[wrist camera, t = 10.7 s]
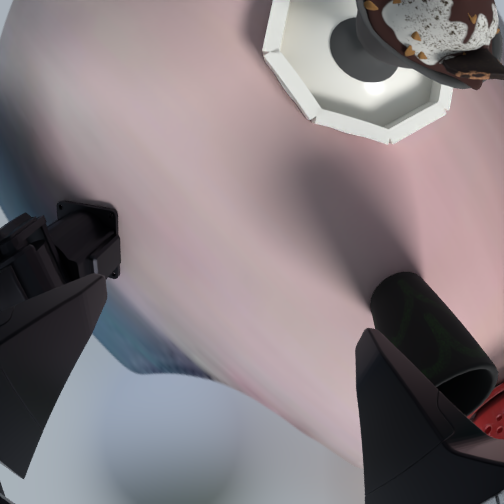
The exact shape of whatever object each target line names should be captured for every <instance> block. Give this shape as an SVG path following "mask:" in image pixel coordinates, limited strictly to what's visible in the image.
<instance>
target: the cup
mask: <svg viewBox="0 0 504 504" xmlns="http://www.w3.org/2000/svg"><path fill="white" fill-rule="evenodd" d="M370 307H371V312H372V316H373V321H374V325H375V329H377V330H379V331H380V332H381V333H382V334H383V335H384V336H385V337H386V338H387V339H388V340H389V341H390V342H391V343H392V344H393V345H394V346H395V347H396V348H397V349H398V350H399V351H400V352H401V353H402V354H403V355H404V356H405V357H406V358H407V359H408V360H409V361H410V362H411V363H412V364H413V365H414V366H415V367H416V368H417V369H418V370H419V371H420V372H421V373H422V374H423V375H424V376H425V377H426V378H427V379H428V380H429V381H430V382H431V383H432V384H433V385H434V386H435V387H436V388H437V389H438V391H440V392H441V393H442V394H443V395H444V396H445V397H446V398H447V399H448V400H449V401H450V402H451V403H452V404H453V405H454V406H455V407H456V408H457V409H458V410H460V411H461V412H462V413H463V414H464V415H465V416H466V417H467V416H469V415H470V414H472V413H473V412H474V411H475V410H476V409H477V408H478V407H480V406H481V405H482V404H483V403H484V401H485V400H486V399H487V398H488V397H489V395H490V394H491V392H492V391H493V389H494V387H495V385H496V382H497V380H498V371H497V368H496V367H495V365H494V364H493V362H492V361H491V360H490V358H489V357H488V356H487V354H486V353H485V352H484V351H483V349H482V348H481V347H480V345H479V344H478V343H477V342H476V340H475V339H474V338H473V337H472V335H471V334H470V333H469V332H468V330H467V329H466V328H465V327H464V326H463V324H462V323H461V322H460V321H459V320H458V318H457V317H456V316H455V315H454V314H453V312H452V311H451V310H450V309H449V308H448V307H447V306H446V304H445V303H444V302H443V301H442V300H441V299H440V298H439V297H438V295H437V294H436V293H435V292H434V291H433V290H432V289H431V288H430V287H429V286H428V284H427V283H426V282H425V281H424V280H423V279H422V278H421V277H420V276H418V275H417V274H415V273H411V272H401V273H396V274H394V275H392V276H390V277H388V278H387V279H385V280H384V281H382V283H381V284H380V285H379V286H378V287H377V288H376V290H375V291H374V293H373V295H372V298H371V303H370Z"/></svg>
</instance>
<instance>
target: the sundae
mask: <svg viewBox="0 0 504 504" xmlns="http://www.w3.org/2000/svg"><path fill="white" fill-rule="evenodd" d="M356 5H357V9H358V10H357V16H356V17H353V18H349V19H346V20H344V21H342V22H340V23H339V24H338V25H337V26H336V27H335V28H334V30H333V31H332V34H331V38H330V49H331V53H332V56H333V58H334V60H335V62H336V63H337V65H338V66H339V67H340V68H341V69H342V70H343V71H344V72H345V73H346V74H348V75H349V76H350V77H352V78H354V79H357V80H359V81H362V82H367V83H378V82H381V81H384V80H386V79H388V78H390V77H391V76H392V75H393V74H394V73H395V71H396V70H397V68H398V67H401V68H408V69H414V70H416V71H417V72H419V73H421V74H423V75H424V76H426V77H428V78H430V79H432V80H434V81H436V82H438V83H440V84H442V85H446V86H449V87H453V88H459V89H466V88H472V89H475V90H478V89H480V87H481V85H482V82H484V81H486V80H487V79H500V80H504V66H503V65H502V64H501V63H500V60H501V56H502V36H501V32H500V28H499V25H498V14H497V9H496V5H495V2H494V0H356Z"/></svg>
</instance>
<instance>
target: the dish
mask: <svg viewBox="0 0 504 504" xmlns="http://www.w3.org/2000/svg"><path fill="white" fill-rule="evenodd" d="M357 10H358V9H357V5H356V0H273V2H272V7H271V11H270V16H269V21H268V25H267V30H266V35H265V39H264V44H263V49H262V52H263V56H264V60H265V62H266V64H267V65H268V66H269V67H270V69H271V70H272V71H273V73H274V74H275V75H276V77H277V79H278V80H279V82H280V84H281V85H282V87H283V88H284V90H285V91H286V92H287V94H288V95H289V96H290V97H291V99H292V100H293V101H294V102H295V103H296V104H297V106H298V107H299V109H300V110H301V112H302V113H303V115H304V116H305V118H306V119H308V120H311V119H312V121H311V123H315V124H319V125H323V126H327V127H331V128H333V129H336V130H339V131H342V132H344V133H347V134H352V135H356V136H362V137H366V138H369V139H372V140H375V141H378V142H381V143H384V144H387V145H388V143H391V144H395V143H396V142H398V141H400V140H402V139H403V138H405V137H407V136H409V135H410V134H412V133H414V132H416V131H417V130H419V129H421V128H423V127H425V126H426V125H428V124H430V123H432V122H433V121H435V120H437V119H439V118H441V117H442V116H444V115H446V112H445V110H449V108H450V103H451V97H452V91H453V87H449V86H446V85H442V84H440V83H438V82H436V81H434V80H432V79H430V78H428V77H426V76H424V75H423V74H421V73H419V72H417V71H416V70H414V69H408V68H401V67H398V68H397V70H396V71H395V73H394V74H393V75H392V76H391V77H390V78H388V79H386V80H384V81H381V82H378V83H367V82H362V81H359V80H357V79H354V78H352V77H350V76H349V75H348V74H346V73H345V72H344V71H343V70H342V69H341V68H340V67H339V66H338V65H337V63H336V62H335V60H334V58H333V56H332V53H331V49H330V38H331V34H332V31H333V30H334V28H335V27H336V26H337V25H338V24H339V23H340V22H342V21H344V20H346V19H349V18H353V17H356V16H357Z"/></svg>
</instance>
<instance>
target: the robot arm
mask: <svg viewBox="0 0 504 504" xmlns="http://www.w3.org/2000/svg"><path fill="white" fill-rule="evenodd" d="M61 205H62V207H63V208H62V207H61ZM110 213H111V214H112V215H113V217H111V215H110ZM57 216H58V220H56V221H55V222H53V223H52V224H50V225H49V226H46V219H45V217H44V215H43V216H40V217H38V218H36V217H31V216H29V215H28V214H27V213H24V214H22V215H20V216H18V217H16V218H15V219H13V220H12V221H10V222H8V223H7V224H5V225H4V226H3V227H1V228H0V463H1V464H2V465H4V466H5V467H7V468H8V469H9V470H11V471H12V472H13V473H15V474H16V475H18V476H19V477H21V478H22V479H24V478H25V475H26V473H27V470H28V467H29V465H30V462H31V459H32V457H33V454H34V452H35V449H36V447H37V445H38V442H39V440H40V437H41V435H42V433H43V430H44V427H45V425H46V423H47V421H48V419H49V416H50V414H51V412H52V410H53V408H54V406H55V403H56V401H57V399H58V397H59V395H60V393H61V391H62V389H63V387H64V385H65V383H66V381H67V379H68V377H69V375H70V373H71V371H72V370H73V368H74V366H75V364H76V362H77V360H78V358H79V357H80V355H81V353H82V351H83V349H84V347H85V345H86V344H87V342H88V340H89V338H90V336H91V334H92V332H93V330H94V328H95V325H96V323H97V321H98V318H99V316H100V314H101V312H102V309H103V307H104V305H105V303H106V300H107V289H106V279H107V278H108V277H109V278H113V279H116V278H118V276H119V275H120V263H121V255H120V237H119V235H118V213H117V211H116V210H114V209H110V208H104V207H99V206H93V205H87V204H81V203H75V202H69V201H60V202H58V203H57ZM113 272H115V274H114V273H113ZM355 357H356V391H357V400H358V408H359V417H360V427H361V438H362V451H363V465H364V484H365V504H504V440H502V439H496V438H493V437H490V436H489V435H487V434H486V433H484V432H483V431H482V430H481V429H480V428H479V427H478V426H476V425H475V424H474V423H473V422H472V421H471V420H470V419H468V418H467V417H466V416H465V415H464V414H463V413H462V412H461V411H460V410H458V409H457V408H456V407H455V406H454V405H453V404H452V403H451V402H450V401H449V400H448V399H447V398H446V397H445V396H444V395H443V394H442V393H441V392H440V391H438V389H437V388H436V387H435V386H434V385H433V384H432V383H431V382H430V381H429V380H428V379H427V378H426V377H425V376H424V375H423V374H422V373H421V372H420V371H419V370H418V369H417V368H416V367H415V366H414V365H413V364H412V363H411V362H410V361H409V360H408V359H407V358H406V357H405V356H404V355H403V354H402V353H401V352H400V351H399V350H398V349H397V348H396V347H395V346H394V345H393V344H392V343H391V342H390V341H389V340H388V339H387V338H386V337H385V336H384V335H383V334H382V333H381V332H380V331H379V330H377V329H372V328H367V329H365V330H364V332H363V334H362V336H361V338H360V340H359V342H358V343H357V345H356V350H355ZM0 504H15V503H13V502H12V501H10V500H9V499H7V498H6V497H5V494H4V491H3V489H2V486H1V483H0Z"/></svg>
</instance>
